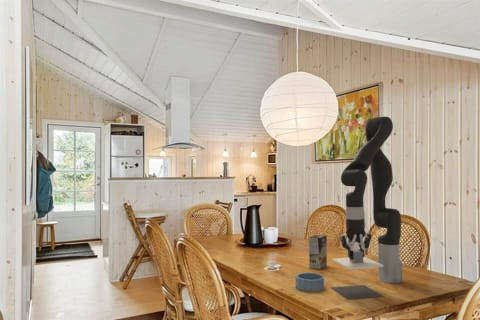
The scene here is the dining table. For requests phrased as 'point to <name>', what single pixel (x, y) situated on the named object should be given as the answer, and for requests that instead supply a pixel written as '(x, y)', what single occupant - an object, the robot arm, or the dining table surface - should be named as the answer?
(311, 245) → the coffee box
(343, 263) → the lid
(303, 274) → the bowl
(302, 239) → the dining table surface
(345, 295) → the mat
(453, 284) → the dining table surface
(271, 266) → the teacup and saucer
